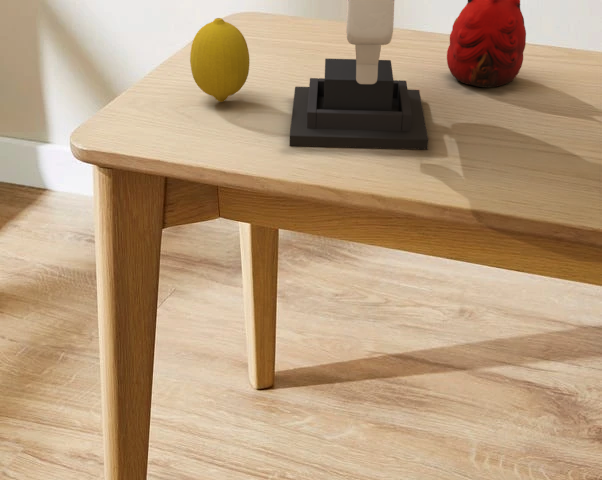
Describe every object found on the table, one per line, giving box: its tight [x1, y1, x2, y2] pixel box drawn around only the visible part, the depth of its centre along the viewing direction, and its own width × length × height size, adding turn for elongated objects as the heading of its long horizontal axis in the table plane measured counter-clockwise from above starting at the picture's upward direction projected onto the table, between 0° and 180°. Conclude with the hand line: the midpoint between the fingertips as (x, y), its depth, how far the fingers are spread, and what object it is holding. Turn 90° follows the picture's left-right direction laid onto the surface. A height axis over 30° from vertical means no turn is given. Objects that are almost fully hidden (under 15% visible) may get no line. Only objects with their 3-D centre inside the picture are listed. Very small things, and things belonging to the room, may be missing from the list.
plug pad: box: [324, 58, 395, 111], centre depth 88 cm, size 6×6×4 cm
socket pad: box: [289, 77, 429, 151], centre depth 89 cm, size 12×12×2 cm
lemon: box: [189, 17, 250, 103], centre depth 91 cm, size 6×6×8 cm
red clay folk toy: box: [446, 0, 527, 88], centre depth 95 cm, size 8×7×15 cm
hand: (365, 62), depth 87 cm, fingers open, 8 cm apart
